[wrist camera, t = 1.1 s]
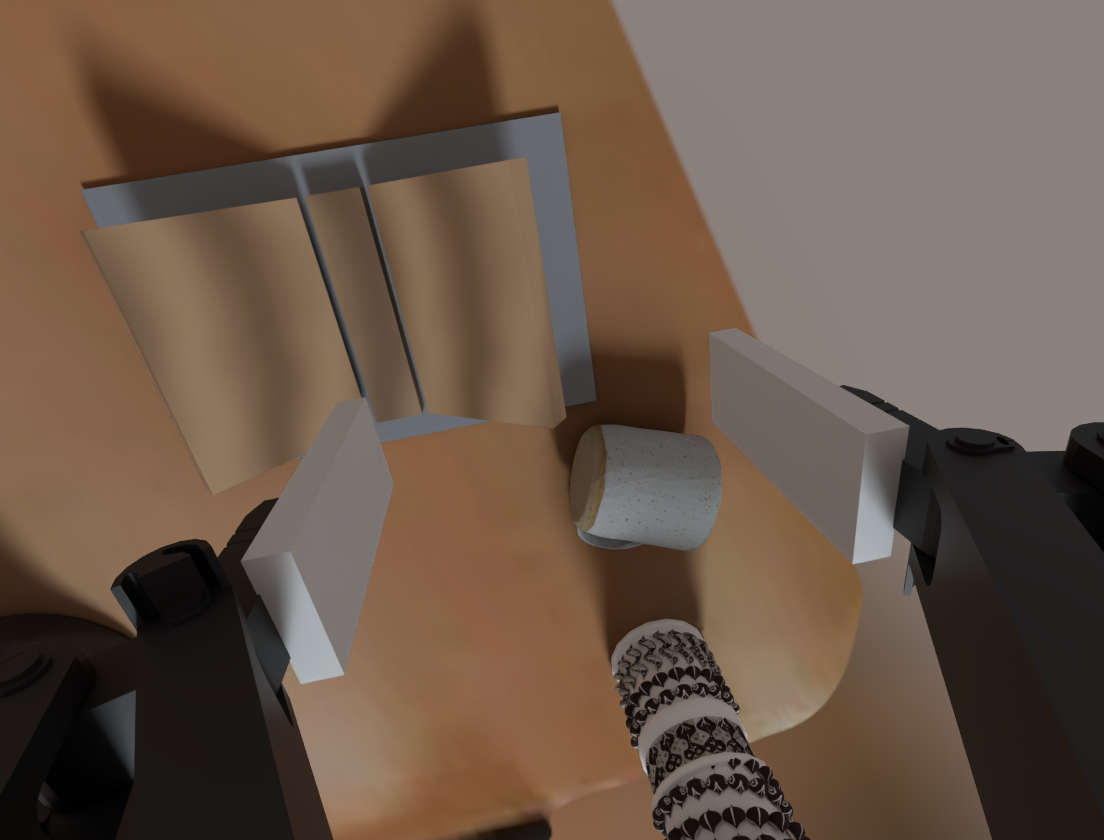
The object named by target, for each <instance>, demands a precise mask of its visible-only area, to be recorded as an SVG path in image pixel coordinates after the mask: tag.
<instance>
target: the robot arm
mask: <svg viewBox="0 0 1104 840" xmlns="http://www.w3.org/2000/svg"><path fill="white" fill-rule="evenodd" d="M709 344H710V379H711V414H712V423H713V424H714V425H715V426H716V427H717V428H718V429H719V430H720V431H721V432H722V433H723V434H724V435H725V436H726V437H727V438H728V439H729V440H730V441H731V442H732V443H733V444H734V445H735V446H736V447H737V448H738V449H739V450H740V451H741V452H742V453H743V454H744V455H745V456H746V457H747V458H748V459H749V460H750V461H751V462H752V463H753V464H754V465H755V466H756V467H757V468H758V469H759V470H760V471H761V472H762V473H763V474H764V475H765V476H766V477H767V478H768V479H769V480H770V481H771V482H772V483H773V484H774V485H775V486H776V487H777V488H778V489H779V490H780V491H781V492H782V494H783V495H784V496H785V497H786V498H787V499H788V500H789V501H790V502H791V503H792V504H793V505H794V506H795V507H796V508H797V509H798V510H799V511H800V512H801V513H802V514H803V515H804V516H805V517H806V518H807V519H808V520H809V521H810V522H811V523H812V524H813V525H814V526H815V527H816V528H817V529H818V530H819V531H820V532H821V533H822V534H823V535H824V536H825V537H826V538H827V539H828V540H829V541H830V542H831V543H832V544H833V545H834V546H835V547H836V548H837V549H838V550H839V551H840V552H841V553H842V554H843V555H844V556H845V557H846V558H847V559H848V560H849V561H850V562H851V563H852V564H857V563H861V562H866V561H870V560H875V559H879V558H884V557H889V556H891V552H892V545H893V538H894V531H895V529H896V530H897V531H898V532H899V533H901V534H902V535H903V536H904V537H905V538H907V539H908V540H909V541H910V542H911V547H910V554H909V559H908V565H907V572H906V578H905V584H904V595H908V596H910V595H911V591H912V587H913V586H915V585H916V588H917V592H918V595H919V598H920V602H921V605H922V608H923V611H924V615H925V618H926V622H927V625H928V628H929V631H930V635H931V638H932V641H933V645H934V648H935V651H936V654H937V658H938V661H939V664H940V668H941V671H942V675H943V678H944V681H945V685H946V688H947V691H948V694H949V698H950V701H951V704H952V707H953V710H954V714H955V718H956V721H957V724H958V728H959V731H960V734H961V738H962V741H963V744H964V747H965V751H966V754H967V757H968V761H969V764H970V767H971V771H972V774H973V777H974V781H975V784H976V787H977V791H978V794H979V797H980V801H981V804H982V807H983V810H984V814H985V817H986V820H987V824H988V827H989V830H990V834H991V837H992V840H1104V422H1103V423H1102V422H1094V423H1089V424H1082V425H1079V426H1077V427H1075V428H1074V429H1072V430H1071V433H1070V437H1069V440H1068V444H1067V448H1066V451H1038V452H1026V451H1025V450H1024V448H1023V447H1022V446H1021V445H1019V444H1018V443H1017V442H1016V441H1014V440H1013V439H1011V438H1008V437H1006V436H1004V435H1001V434H999V433H994V432H990V431H986V430H981V429H972V428H948V429H943V430H938V429H936V428H934V427H932V426H931V425H929V424H927V423H925V422H923V421H921V420H919V419H917V418H916V417H914V416H912V415H910V414H908V413H906V412H904V411H903V410H900V411H899V410H898V408H897V407H895V406H893V405H891V404H890V403H885V402H884V400H882V399H880V398H879V397H877V396H875V395H873V394H871V393H869V392H867V391H864V390H860V389H856V388H853V387H849V386H845V385H842V386H838V385H836V384H834V383H832V382H831V381H829V380H827V379H825V378H824V377H822V376H820V375H818V374H816V373H815V372H813V371H811V370H809V369H808V368H806V367H804V366H802V365H801V364H799V363H797V362H795V361H793V360H792V359H790V358H788V357H786V356H784V355H783V354H781V353H779V352H778V351H776V350H774V349H772V348H770V347H768V346H767V345H765V344H763V343H762V342H760V341H758V340H756V339H755V338H753V337H751V336H749V335H747V334H746V333H744V332H742V331H740V330H739V329H737V328H732V329H727V330H722V331H716V332H711V333H709ZM393 485H394V484H393V481H392V478H391V475H390V471H389V468H388V465H387V462H386V459H385V456H384V453H383V450H382V446H381V443H380V440H379V437H378V434H377V431H376V428H375V425H374V421H373V418H372V415H371V412H370V409H369V406H368V403H367V400H366V397H364V398H359V399H354V400H348V401H343V402H338V403H336V405H335V407H334V408H333V410H332V412H331V413H330V415H329V417H328V418H327V420H326V422H325V423H324V425H323V427H322V428H321V430H320V431H319V433H318V435H317V436H316V438H315V440H314V441H313V443H312V445H311V446H310V448H309V450H308V451H307V453H306V454H305V456H304V458H303V459H302V461H301V463H300V464H299V466H298V468H297V469H296V471H295V473H294V474H293V476H292V478H291V479H290V481H289V482H288V484H287V486H286V487H285V489H284V491H283V492H282V494H281V496H280V497H279V498H276V499H270V500H265V501H263V502H262V503H261V504H260V505H259V506H257V507H256V508H255V509H254V510H252V511H251V512H250V513H249V514H248V515H246V516H245V518H244V519H243V521H242V522H241V524H240V525H239V527H238V528H237V530H236V531H235V533H236V534H234V535H233V536H232V537H231V539H230V540H229V542H228V543H227V547H226V548H224V549H223V550H222V552H221V553H220V555H219V556H218V558H217V556H216V554H215V552H214V550H213V548H212V546H211V545H210V544H209V543H208V542H207V541H205V540H199V539H192V540H185V541H179V542H176V543H173V544H170V545H167V546H164V547H161V548H159V549H157V550H155V551H153V552H151V553H149V554H147V555H145V556H143V557H141V558H140V559H139V560H137V561H136V562H134V563H133V564H131V565H130V566H128V567H127V568H126V569H125V570H124V571H123V572H122V573H121V574H120V575H119V576H118V577H117V578H116V579H115V580H114V582H113V584H112V587H111V589H110V590H111V591H112V593H113V594H114V596H115V598H116V599H117V601H118V602H119V604H120V605H121V607H122V608H123V610H124V612H125V613H126V615H127V616H128V618H129V619H130V621H131V623H132V624H133V626H134V627H135V629H136V630H137V637H136V638H133V639H131V640H129V639H127V638H126V637H124V636H122V635H120V634H118V633H116V632H114V631H112V630H109V629H107V628H104V627H102V626H99V625H96V624H93V623H89V622H86V621H82V620H78V619H73V618H68V617H61V616H53V615H17V616H9V617H3V618H0V840H333V837H332V834H331V830H330V827H329V824H328V821H327V817H326V814H325V811H324V808H323V805H322V801H321V798H320V795H319V792H318V788H317V785H316V782H315V779H314V775H313V772H312V769H311V766H310V763H309V759H308V756H307V753H306V750H305V746H304V743H303V740H302V737H301V734H300V730H299V727H298V724H297V721H296V717H295V714H294V711H293V708H292V705H291V701H290V698H289V696H288V694H287V692H286V690H285V688H284V687H283V685H282V683H281V682H282V680H283V677H284V674H285V672H286V669H287V666H288V664H289V661H290V663H291V665H292V667H293V669H294V671H295V673H296V675H297V677H298V679H299V681H300V683H301V684H304V683H309V682H313V681H318V680H323V679H327V678H332V677H336V676H341V675H345V671H346V667H347V663H348V659H349V655H350V651H351V648H352V644H353V640H354V636H355V632H356V628H357V624H358V621H359V617H360V613H361V609H362V605H363V601H364V597H365V594H366V590H367V586H368V582H369V578H370V574H371V570H372V566H373V563H374V559H375V555H376V551H377V547H378V543H379V539H380V536H381V532H382V528H383V524H384V520H385V516H386V512H387V509H388V505H389V501H390V497H391V493H392V489H393Z"/></svg>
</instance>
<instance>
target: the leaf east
mask: <svg viewBox="0 0 1104 840" xmlns="http://www.w3.org/2000/svg"><path fill="white" fill-rule="evenodd" d="M367 188H368V192H369V195H370V199H371V203H372V206H373V210H374V214H375V217H376V221H377V225H378V228H379V232H380V236H381V239H382V243H383V247H384V250H385V254H386V258H387V261H388V265H389V269H390V272H391V276H392V280H393V283H394V287H395V291H396V294H397V298H398V302H399V306H400V309H401V313H402V317H403V320H404V324H405V328H406V331H407V335H408V339H409V342H410V346H411V350H412V353H413V357H414V361H415V364H416V368H417V372H418V375H419V379H420V383H421V386H422V390H423V394H424V397H425V401H426V405H427V408H428V412H429V413H431V414H439V415H447V416H456V417H464V418H472V419H480V420H488V421H497V422H505V423H513V424H521V425H529V426H538V427H546V428H555V427H556V426H557V425H558V424H559V423H561V422H562V421H563V420H564V419H565V418H566V410H565V404H564V397H563V391H562V384H561V378H560V372H559V365H558V359H557V352H556V346H555V339H554V333H553V326H552V320H551V313H550V307H549V300H548V294H547V288H546V281H545V275H544V268H543V262H542V255H541V249H540V242H539V236H538V229H537V223H536V217H535V210H534V204H533V197H532V191H531V184H530V178H529V171H528V165H527V158H519V159H511V160H505V161H500V162H494V163H489V164H483V165H478V166H472V167H467V168H462V169H456V170H451V171H445V172H440V173H434V174H429V175H423V176H418V177H412V178H407V179H402V180H396V181H391V182H385V183H380V184H374V185H369V186H367Z"/></svg>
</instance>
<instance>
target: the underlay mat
mask: <svg viewBox="0 0 1104 840" xmlns="http://www.w3.org/2000/svg"><path fill="white" fill-rule="evenodd" d="M519 158H527V165H528V171H529V178H530V184H531V191H532V197H533V204H534V210H535V217H536V223H537V229H538V236H539V242H540V249H541V255H542V262H543V268H544V275H545V281H546V288H547V294H548V300H549V307H550V313H551V320H552V326H553V333H554V339H555V346H556V352H557V359H558V365H559V372H560V378H561V384H562V391H563V397H564V404H565V407H567V406H572V405H577V404H583V403H588V402H593V401H597V397H596V390H595V382H594V374H593V366H592V358H591V350H590V342H589V334H588V327H587V319H586V311H585V303H584V295H583V287H582V279H581V271H580V264H579V256H578V248H577V240H576V232H575V224H574V216H573V209H572V201H571V193H570V185H569V177H568V169H567V161H566V153H565V146H564V138H563V130H562V122H561V114H560V112H559V113H553V114H546V115H540V116H534V117H528V118H522V119H516V120H509V121H503V122H497V123H491V124H485V125H479V126H472V127H466V128H460V129H454V130H448V131H442V132H435V133H429V134H423V135H417V136H411V137H405V138H398V139H392V140H386V141H380V142H374V143H367V144H361V145H355V146H349V147H343V148H337V149H330V150H324V151H318V152H312V153H306V154H300V155H293V156H287V157H281V158H275V159H269V160H263V161H256V162H250V163H244V164H238V165H232V166H226V167H219V168H213V169H207V170H201V171H195V172H188V173H182V174H176V175H170V176H164V177H158V178H151V179H145V180H139V181H133V182H127V183H121V184H114V185H108V186H102V187H96V188H90V189H84V190H81V192H82V194H83V196H84V198H85V201H86V203H87V205H88V207H89V209H90V211H91V213H92V215H93V217H94V219H95V221H96V224H97V226H98V228H103V227H110V226H116V225H123V224H129V223H135V222H142V221H148V220H155V219H161V218H168V217H174V216H181V215H187V214H194V213H200V212H207V211H213V210H219V209H226V208H232V207H239V206H245V205H252V204H258V203H265V202H271V201H278V200H284V199H291V198H297V201H298V204H299V207H300V210H301V213H302V217H303V220H304V223H305V226H306V229H307V232H308V235H309V238H310V241H311V244H312V247H313V250H314V253H315V256H316V260H317V263H318V266H319V269H320V272H321V275H322V278H323V281H324V284H325V287H326V290H327V293H328V296H329V300H330V303H331V306H332V309H333V312H334V315H335V318H336V321H337V324H338V327H339V330H340V333H341V336H342V340H343V343H344V346H345V349H346V352H347V355H348V358H349V361H350V364H351V367H352V370H353V373H354V376H355V379H356V383H357V386H358V389H359V392H360V395H361V398H364V397H366V400H367V403H368V406H369V409H370V412H371V415H372V418H373V421H374V425H375V428H376V431H377V434H378V437H379V440H380V443H382V442H387V441H392V440H397V439H402V438H407V437H413V436H418V435H423V434H428V433H433V432H438V431H443V430H449V429H454V428H459V427H464V426H469V425H474V424H480V423H485V422H490V421H488V420H480V419H472V418H464V417H456V416H447V415H439V414H431V413H429V412H428V408H427V405H426V401H425V397H424V394H423V390H422V386H421V383H420V379H419V375H418V372H417V368H416V364H415V361H414V357H413V353H412V350H411V346H410V342H409V339H408V335H407V331H406V328H405V324H404V320H403V317H402V313H401V309H400V306H399V302H398V298H397V294H396V291H395V287H394V283H393V280H392V276H391V272H390V269H389V265H388V261H387V258H386V254H385V250H384V247H383V243H382V239H381V236H380V232H379V228H378V225H377V221H376V217H375V214H374V210H373V206H372V203H371V199H370V195H369V192H368V188H367V186H369V185H374V184H380V183H385V182H391V181H396V180H402V179H407V178H412V177H418V176H423V175H429V174H434V173H440V172H445V171H451V170H456V169H462V168H467V167H472V166H478V165H483V164H489V163H494V162H500V161H505V160H511V159H519ZM357 187H365V191H366V194H367V198H368V201H369V205H370V209H371V212H372V216H373V220H374V223H375V227H376V231H377V234H378V238H379V242H380V245H381V249H382V253H383V256H384V260H385V264H386V267H387V271H388V275H389V278H390V282H391V285H392V289H393V293H394V296H395V300H396V304H397V307H398V311H399V315H400V318H401V322H402V326H403V329H404V333H405V337H406V340H407V344H408V348H409V351H410V355H411V358H412V362H413V366H414V369H415V373H416V377H417V380H418V384H419V388H420V391H421V395H422V399H423V402H424V409H423V413H422V414H421V415H416V416H411V417H405V418H400V419H395V420H390V421H385V422H379V423H377V422H376V419H375V416H374V412H373V409H372V406H371V403H370V400H369V397H368V394H367V391H366V387H365V384H364V381H363V378H362V375H361V372H360V369H359V365H358V362H357V359H356V356H355V353H354V350H353V347H352V343H351V340H350V337H349V334H348V331H347V328H346V325H345V322H344V318H343V315H342V312H341V309H340V306H339V303H338V300H337V296H336V293H335V290H334V287H333V284H332V281H331V278H330V275H329V271H328V268H327V265H326V262H325V259H324V256H323V253H322V249H321V246H320V243H319V240H318V237H317V234H316V231H315V228H314V224H313V221H312V218H311V215H310V212H309V209H308V206H307V202H306V199H305V196H309V195H315V194H321V193H327V192H333V191H339V190H345V189H351V188H357ZM304 456H305V454H304V455H301V456H299V457H297V458H295V459H299V458H304ZM293 460H294V459H293Z"/></svg>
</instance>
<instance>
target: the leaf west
mask: <svg viewBox="0 0 1104 840" xmlns="http://www.w3.org/2000/svg"><path fill="white" fill-rule="evenodd" d="M79 233H80V235H81V237H82V239H83V241H84V243H85V245H86V247H87V249H88V251H89V253H90V255H91V257H92V259H93V261H94V263H95V265H96V267H97V269H98V271H99V273H100V275H101V277H102V279H103V281H104V283H105V285H106V287H107V289H108V291H109V293H110V295H111V297H112V299H113V302H114V304H115V306H116V308H117V310H118V312H119V314H120V316H121V318H122V320H123V322H124V324H125V326H126V328H127V330H128V332H129V334H130V336H131V338H132V340H133V342H134V344H135V346H136V348H137V350H138V352H139V354H140V356H141V358H142V360H143V362H144V364H145V366H146V368H147V370H148V372H149V374H150V376H151V378H152V380H153V382H154V384H155V387H156V389H157V391H158V393H159V395H160V397H161V399H162V401H163V403H164V405H165V407H166V409H167V411H168V413H169V415H170V417H171V419H172V421H173V423H174V425H175V427H176V429H177V431H178V433H179V435H180V437H181V439H182V441H183V443H184V445H185V447H186V449H187V451H188V453H189V455H190V457H191V459H192V461H193V463H194V465H195V467H196V469H197V472H198V474H199V476H200V478H201V480H202V482H203V484H204V486H205V488H206V489H207V490H208V491H209V492H210V493H211V494H212V495H215V494H217V493H219V492H222V491H224V490H226V489H228V488H230V487H233V486H235V485H237V484H239V483H242V482H244V481H246V480H248V479H250V478H253V477H255V476H257V475H259V474H262V473H264V472H266V471H268V470H270V469H273V468H275V467H277V466H279V465H281V464H284V463H286V462H288V461H290V460H293V459H295V458H297V457H299V456H301V455H304V454H306V453H307V451H308V450H309V448H310V446H311V445H312V443H313V441H314V440H315V438H316V436H317V435H318V433H319V431H320V430H321V428H322V427H323V425H324V423H325V422H326V420H327V418H328V417H329V415H330V413H331V412H332V410H333V408H334V407H335V405H336V403H338V402H343V401H348V400H354V399H359V398H361V395H360V392H359V389H358V386H357V383H356V379H355V376H354V373H353V370H352V367H351V364H350V361H349V358H348V355H347V352H346V349H345V346H344V343H343V340H342V336H341V333H340V330H339V327H338V324H337V321H336V318H335V315H334V312H333V309H332V306H331V303H330V300H329V296H328V293H327V290H326V287H325V284H324V281H323V278H322V275H321V272H320V269H319V266H318V263H317V260H316V256H315V253H314V250H313V247H312V244H311V241H310V238H309V235H308V232H307V229H306V226H305V223H304V220H303V217H302V213H301V210H300V207H299V204H298V201H297V198H291V199H284V200H278V201H271V202H265V203H258V204H252V205H245V206H239V207H232V208H226V209H219V210H213V211H207V212H200V213H194V214H187V215H181V216H174V217H168V218H161V219H155V220H148V221H142V222H135V223H129V224H123V225H116V226H110V227H103V228H97V229H90V230H84V231H80V232H79Z"/></svg>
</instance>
